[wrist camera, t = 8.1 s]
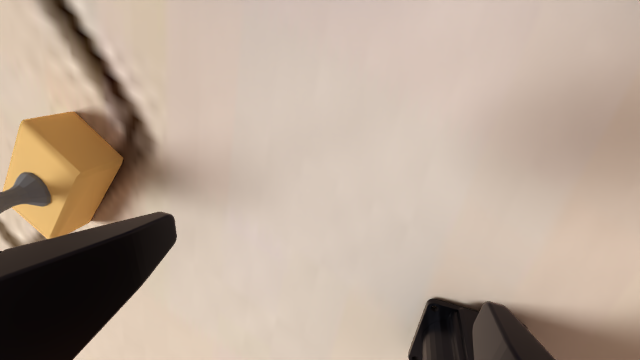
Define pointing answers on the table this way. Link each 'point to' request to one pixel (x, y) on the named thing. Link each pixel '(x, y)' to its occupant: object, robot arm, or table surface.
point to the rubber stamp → (58, 173)
